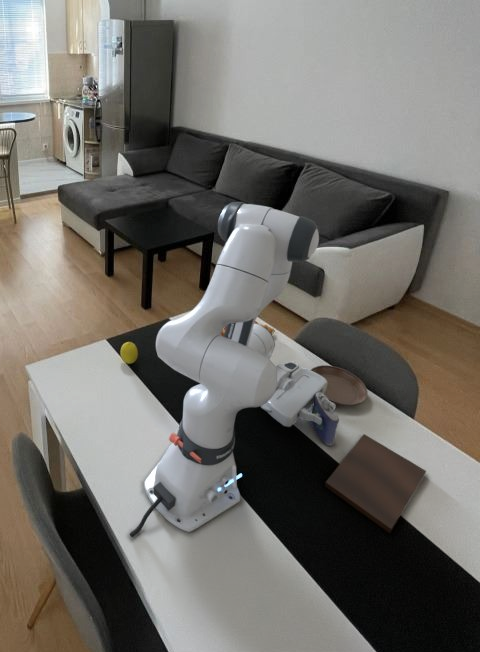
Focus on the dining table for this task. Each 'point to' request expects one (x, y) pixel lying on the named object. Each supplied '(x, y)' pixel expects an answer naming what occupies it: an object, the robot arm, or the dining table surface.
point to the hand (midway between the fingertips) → (328, 414)
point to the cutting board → (376, 482)
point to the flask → (330, 419)
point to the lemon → (129, 352)
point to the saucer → (342, 385)
